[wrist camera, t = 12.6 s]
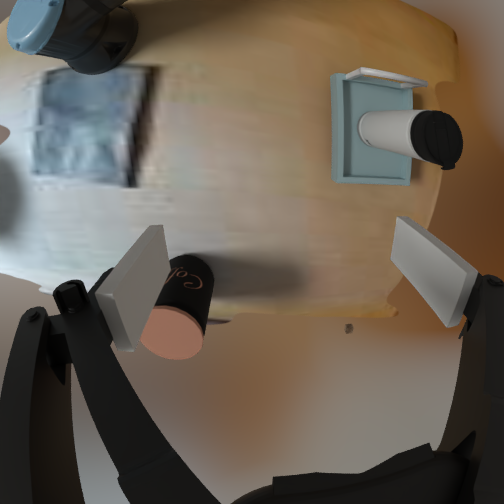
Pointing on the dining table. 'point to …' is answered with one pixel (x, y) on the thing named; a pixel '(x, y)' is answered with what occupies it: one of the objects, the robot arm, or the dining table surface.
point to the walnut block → (348, 328)
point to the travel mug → (413, 134)
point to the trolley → (346, 118)
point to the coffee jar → (180, 310)
